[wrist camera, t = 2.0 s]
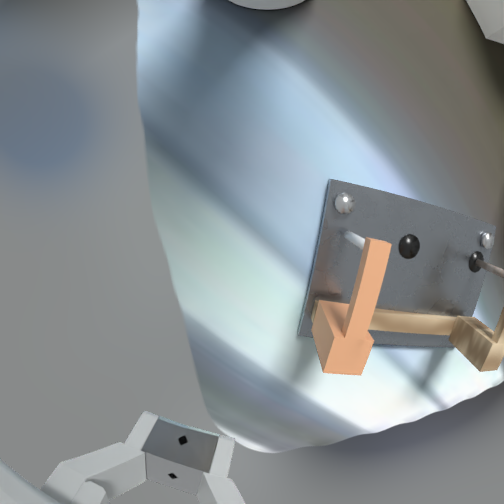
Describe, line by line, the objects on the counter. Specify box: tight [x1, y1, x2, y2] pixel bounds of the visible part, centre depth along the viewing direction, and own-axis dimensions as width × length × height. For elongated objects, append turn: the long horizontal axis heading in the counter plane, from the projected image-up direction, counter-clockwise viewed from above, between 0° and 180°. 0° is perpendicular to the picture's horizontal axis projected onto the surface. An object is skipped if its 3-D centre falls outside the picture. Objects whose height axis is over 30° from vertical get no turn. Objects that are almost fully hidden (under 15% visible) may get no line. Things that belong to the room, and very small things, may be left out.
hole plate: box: [298, 179, 496, 347], centre depth 34 cm, size 20×28×2 cm
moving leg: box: [311, 231, 392, 375], centre depth 29 cm, size 13×4×10 cm, turn 171°
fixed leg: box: [311, 259, 504, 372], centre depth 29 cm, size 13×26×11 cm, turn 81°
